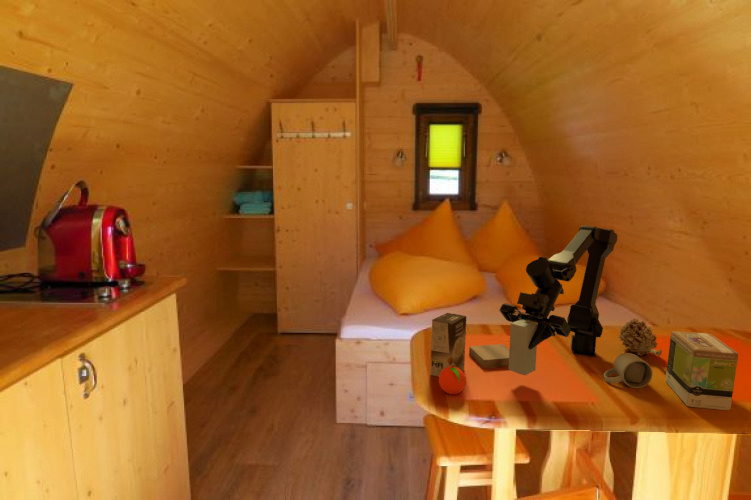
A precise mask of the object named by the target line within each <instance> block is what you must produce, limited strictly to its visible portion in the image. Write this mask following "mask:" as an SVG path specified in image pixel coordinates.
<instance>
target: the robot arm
mask: <svg viewBox="0 0 751 500" xmlns="http://www.w3.org/2000/svg"><path fill="white" fill-rule="evenodd" d="M617 242H618V234H617V233H615V230H614V229H611V228H604V227H603V228H600V227H598V226H594V225H581V226H580V227H579V229H578V232H577V233H576V234H575V235H574V237H573V238H572V239H571V240H570V242H569V243H568V244H567V245H566V247H565V248H564V249H563V250H562V251H561V252H559V253H555V254H553V255H552V256H551V257H550V258H547V257H546V256H540V255H539V257H538V259H535V260H532V261H530V262H529V263H528V264H527V265H526V268H525V272H526V273H527V275H528V278H530V280H531V282H532V283H533V285H534V287H536V288H537V289H536V291H534V292H535V293H533V292H532V293H526V292H522V291H520V292H519V296H518V298H517V302H516V304H517V305H521V306H522V307H521V308H522V309H523V311H520V309H519V308H518V307H517V305H514V304H510V303H503V304H501V306H500V308H499V310H498V311H499V312H500V313H501V315H502V316H503V318H504V319H505V320H506V321H508V322H510V323H513V322H515V321H518V320H521V319H522V320H526V321H530V322H533V323H537V324H538V327H537V330H536V332H535V334H534V336H533V338H532V340H531V342H530V344H529V346H528V348H529V349H530V350H531V349H533V348H534V347H535V346H537V347H538V346H539V345H540V344H541V343H542V342H544V341H546V340H547V339H549V338H551V337H556V335H557V336H561V337H565V338H568V337H569V335H570V333H573V334H572V335H571V337H570V349H571V351H572V352H573V355H579V356H580V355H581V356H589V357H596V356H597V353H596V346H597V338H601V337H602V334H603V329H604V328H603V326H602V324H601V322H600V320H599V317H600V313H599V310H598V307H597V304H596V303H597V299H598V293H599V289H600V285H601V279H602V276H603V272H604V271H603V270H604V266H605V261H606V258H607V257H608V256H609V255H610V254H611V253H612V252H613V251H614V249H615V245H616V243H617ZM586 251H587V254H588V257H587V261H586V266H585V271H584V275H583V280H582V284H581V289H580V294H579V298H578V300H577V301H576V302H575V303H572V304H571V305H570V307H569V312H568V315H567V319H566V318H565V316H559V315H556V314H555V315H554V314H551V315H550V313H552V312H555V309H556V307H555V303H556V301H557V300H558V298H559V295H564V293H565V292H564V291H565V290H564V288H563V284H562V283H561V282H560V281H563V282H570V281H571V280H572V279H573V278H574V277H575V274H576V272H577V271H578V270H577V263H578V262H579V260H580V259H581V258H582V257H583V255H584V254H585V252H586Z"/></svg>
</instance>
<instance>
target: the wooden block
mask: <svg viewBox="0 0 751 500" xmlns="http://www.w3.org/2000/svg"><path fill="white" fill-rule="evenodd" d="M537 327H538V323H534V322H530V321H527V320H522V319H521V320H518V321H515V322H513V323H512V322H510V327H509V328H510V329H509V348H508V349H509V366H508V370H509V371H511V372H514V373H517V374H519V375H522V376H528V375H529V374H531V373H533V372H535V371H536V366H537V347H538V345H537V346H535V347H534V348H533V349H531V350H530V349H529V348H528V346H529V344H530V342H531V340H532V338H533V336H534V334H535V332H536V330H537Z"/></svg>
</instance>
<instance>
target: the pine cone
mask: <svg viewBox="0 0 751 500" xmlns="http://www.w3.org/2000/svg"><path fill="white" fill-rule="evenodd" d="M618 331H619V332H620V334H619V335H618V338H619V341H621V342H622V343H621V344H622V346H624V348H629V351H631V352H632V353H635V352H636V354H637V355H636V356H640V357H642V356H644V355H645V354H646V355H650V353H651V354H652V355H655V356H657V357H659V356H661V355H662V354H663V350H661V349H659V350H656V348H657V346H658V345H659V343H658V342H656V341H657V336H656V334H655V333H653V329H652V328H651V327H650V326H648V324H646V322H645V321H641V322H640V320H639V319H636V318H633V319H631V320H629V322H628V321H627V322H625V324H624V326H623V325H622V326H620V329H619V330H618Z"/></svg>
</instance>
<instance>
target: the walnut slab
mask: <svg viewBox="0 0 751 500" xmlns="http://www.w3.org/2000/svg"><path fill="white" fill-rule="evenodd" d="M468 347H469V351H468V355H469V356H470V357H471V358H473V360H474V361H475V362H477V364H479V366H480V367H481V368H482V369H492V368H493V369H494V368H503V367H504V368H505V367H509V349H510V348H508V347H507V346H506V345H504V344H503V343H500V344H499V343H497V344H484V345H471V346H470V345H469V346H468Z"/></svg>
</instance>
